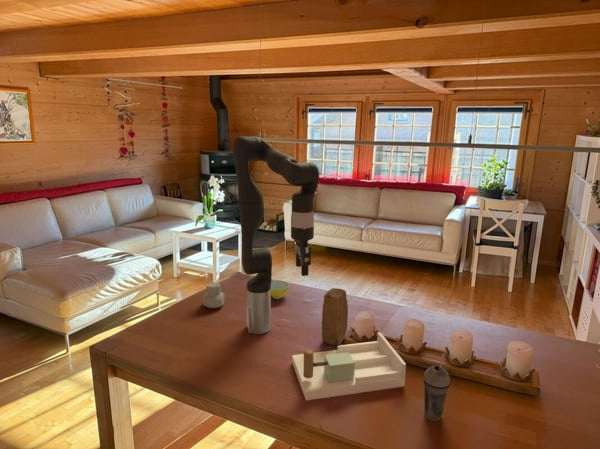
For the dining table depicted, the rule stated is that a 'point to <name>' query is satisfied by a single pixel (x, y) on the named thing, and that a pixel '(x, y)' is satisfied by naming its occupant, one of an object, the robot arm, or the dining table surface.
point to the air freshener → (213, 296)
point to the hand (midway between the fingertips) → (301, 270)
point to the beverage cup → (435, 391)
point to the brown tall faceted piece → (334, 316)
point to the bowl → (279, 289)
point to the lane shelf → (368, 370)
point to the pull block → (331, 366)
